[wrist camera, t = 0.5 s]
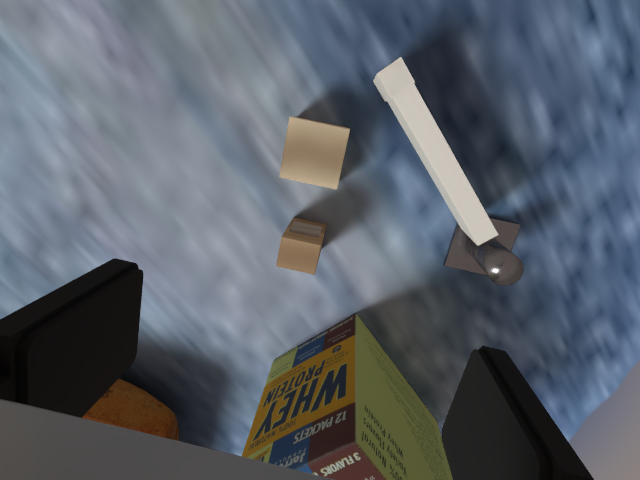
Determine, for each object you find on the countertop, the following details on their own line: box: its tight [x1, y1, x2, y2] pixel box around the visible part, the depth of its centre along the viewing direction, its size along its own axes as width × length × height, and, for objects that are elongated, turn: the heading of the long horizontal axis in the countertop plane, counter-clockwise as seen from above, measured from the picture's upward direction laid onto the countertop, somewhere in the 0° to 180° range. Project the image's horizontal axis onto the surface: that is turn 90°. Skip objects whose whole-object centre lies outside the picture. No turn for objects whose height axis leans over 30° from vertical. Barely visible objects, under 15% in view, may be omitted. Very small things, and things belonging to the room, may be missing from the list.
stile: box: [276, 217, 327, 275], centre depth 31 cm, size 3×3×6 cm
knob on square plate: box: [444, 217, 524, 286], centre depth 30 cm, size 5×5×6 cm
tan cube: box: [280, 117, 350, 190], centre depth 30 cm, size 4×4×4 cm
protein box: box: [242, 314, 453, 480], centre depth 32 cm, size 10×15×16 cm
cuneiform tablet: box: [82, 379, 179, 441], centre depth 39 cm, size 22×17×8 cm
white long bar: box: [373, 57, 498, 246], centre depth 28 cm, size 14×2×5 cm, turn 33°
